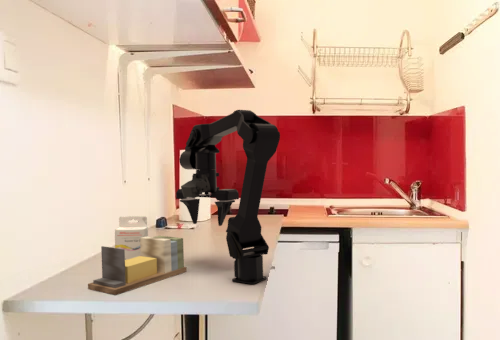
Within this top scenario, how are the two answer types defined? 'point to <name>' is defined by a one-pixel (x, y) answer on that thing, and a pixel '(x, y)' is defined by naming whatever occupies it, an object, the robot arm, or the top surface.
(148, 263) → the ochre book
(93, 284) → the brown book holder
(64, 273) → the top surface
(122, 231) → the ink cartridge box
